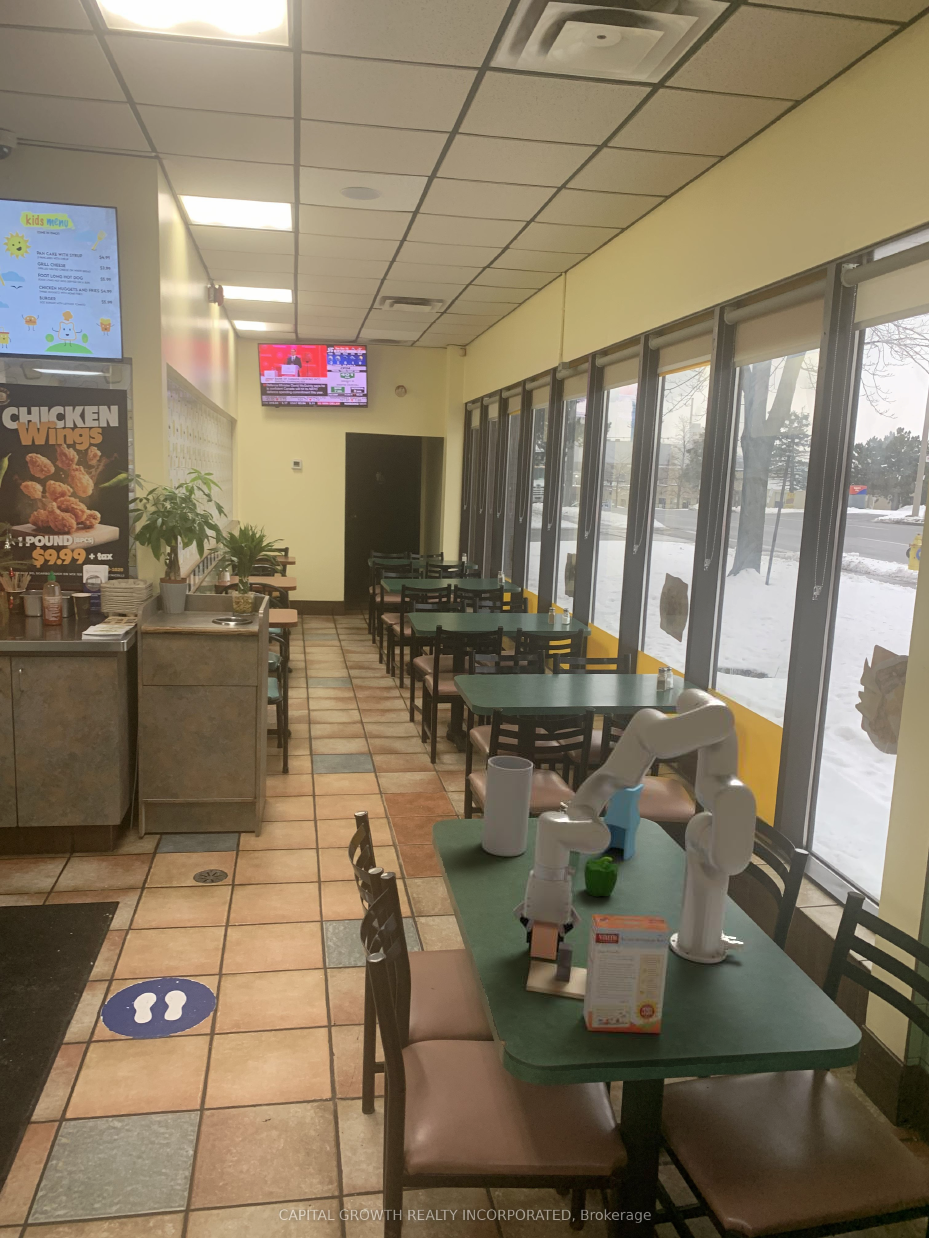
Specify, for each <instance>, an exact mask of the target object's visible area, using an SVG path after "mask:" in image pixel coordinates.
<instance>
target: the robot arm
mask: <svg viewBox="0 0 929 1238" xmlns="http://www.w3.org/2000/svg"><path fill="white" fill-rule="evenodd" d="M675 710H676V711H675V712H676V713H677V714H676V715H672V716H668V715H666V714H665V713H663V712H661V711H660V710H657V709H654V708H650V707H649V708H646V707H645V708H642V709H640V710H639V711H637V712H636V713H635V714H634V715H633V717H632V718H631V720H630V721H629V723H628V724H627V726H626V728H625V730H624V731H623V733H622V734H621V736H620V738H619V740H618V741H617V743H616V745H615V746H614V748H613V750H612V751H611V753H610V755H609V756H608V758H607V760H606V761H605V763H604V764H603V765H602V766H601V767H599V768H598V769H597V770H596V771H594V772H593V773H592V774H591V775H590V776H588V778H586V779H585V780H584V781H583V783H582V784H580V786H579V788H578V789H577V790H576V792H575V794H574V795H573V797H572V799H571V801H570V802H569V804H568V806H567V808H566V811H565V813H563V812H560V811H544V812H542V813H541V814H540V815H539V816H538V817H537V822H536V836H535V847H534V858H533V860H534V861H533V869H531V870H530V872H529V875H528V878H527V879H528V880H527V882H526V883H527V884H526V889H525V897H524V900H522V901H520V903H519V904H518V905H517V906H516V907H515V908H513V911H512V915H513V916H514V917H515V918H517V920H518V921H519V922H520V924H521V925H522V926H523V927H524V928H525V931H526V938H525V939H526V940H525V943H526V944H528V950H531V944H532V932H533V925H534V922H535V920H537V921H544V922H551V923H557V925H558V929H559V931H558V938H557V950H556V952H557V953H556V954H558V951H559V943H560V942H564V943H565V936H566V935H567V934H568V933H570V932H571V931H572V930H573V929H574V928H577V927H578V926H579V925H581V924H582V917H581V916H580V915H579V914H578V912H577V911H576V909H575V908H574V907H573V879H572V876H571V875H575V874H576V867H574V866H571V865H570V857H571V852H579V853H583V854H590V855H591V854H592V855H593V854H599V853H601V852H602V851H604V850H605V849H606V848H607V847H608V846H609V844H610V840H611V834H610V831H609V829H608V827H607V826H606V824H605V823H604V820H602V818H601V817H600V814H601V812H602V811H603V809H604V807H605V805H607V803H608V802H609V801H610V798H611V797H612V796H613V795H614V794H616V793H617V792H619V791H621V790H625V789H634V788H636V787H637V786H639V785H640V784H642V781H643V780H644V778H645V776H646V775H647V773H648V771H649V770H650V768H651V766H652V765H653V763H654V761H655V760H656V759H659V760H661V759H662V760H665V759H667V760H668V759H673V758H676V757H680V756H683V755H686V754H689V753H692V752H694V751H695V752H696V751H697V761H696V762H697V763H696V774H695V783H694V796H695V798H696V800H697V802H698V804H700V805H701V806H702V807H703V808H704V809H705V811H702V812H699V813H696V814H695V815H694V816H693V817H691V819H689V822H688V823H687V826H686V829H685V835H684V840H685V841H684V843H685V844H684V845H685V866H684V867H685V868H684V877H683V884H682V885H683V886H682V895H681V902H680V903H681V904H680V913H679V921H678V931H677V932H676V933H675V932H674V934H672V935H670V937H669V947H670V949H671V950H672V951H673V952H674V953H675V954H676V955H678V956H679V957H681V958H682V959H686V960H689V961H691V962H694V963H701V964H717V963H720V962H722V961H724V960H725V959H726V958H727V956H728V950H734V951H738V952H743V950H744V942H743V941H738V940H737V937H736V936H728V935H726V934H724V931H723V930H724V921H725V913H726V906H727V905H726V904H727V903H726V902H727V895H728V889H729V882H730V881H729V879H730V876H735V875H738V874H740V873H742V872H743V871H744V870H745V869H746V868H747V867H748V865H749V864H750V862H751V859H752V855H753V852H754V844H755V843H754V842H755V833H756V823H757V811H758V807H757V800H756V797H755V794H754V792H753V791H752V789H751V788H750V787H749V786H748V784H746V783H745V782H743V781H742V780H741V779H740V778H739V773H738V769H739V766H738V765H739V740H738V739H739V738H738V734H737V730H736V727H735V723H736V722H735V721H736V719H735V714H734V711H733V710H732V709H731V708H730V707H729V706H728V704H727V703H724V702H723V701H721V700H720V699H718V698H716V697H714V696H713V695H712V694H710V693H707V692H706V691H704V690H702V689H699V688H689V689H688V688H687V689H685V690H683V691H682V692H680V694H679V695H678V696H677V699H676V703H675Z"/></svg>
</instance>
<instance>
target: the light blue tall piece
mask: <svg viewBox="0 0 929 1238" xmlns="http://www.w3.org/2000/svg"><path fill="white" fill-rule="evenodd" d="M643 788H644V784H642V783H640V785H639V786H637V787H635V788H630V789H625V790H621V791H619V792H617V793H616V794H614V795H613V796H612V797H611V798H610V799H609V804H608V809H607V811H606V814H605V816H604V818H603V822H604V823H605V824H606V826H607V827H608V829H609V831H610V834H611V840H610V844H609V846H608V847H607V848H606V849H605V850H604V851H602V852H600V853H601V854H605V853H606V852H607V851H608V850H609V849H610V848H619V849H621V850H623V860H625V861H627V860H629V859H630V858H631V857H633V856H634V854H636V845H635V843H636V842H635V841H636V835H637V831H638V828H639V825H640V823H641V815H640V812H639V801H640V795H641V793H642V790H643Z"/></svg>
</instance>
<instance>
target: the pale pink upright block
mask: <svg viewBox="0 0 929 1238" xmlns="http://www.w3.org/2000/svg"><path fill="white" fill-rule="evenodd" d="M558 931H559V929H558V925H557V923H551V922H544V921H537V920H535V922H534V925H533V932H532V944H531V949H530V957H534V958H541V959H547V960H554V961H556V959H557V954H558V953H557V952H556V950H557V938H558Z"/></svg>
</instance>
